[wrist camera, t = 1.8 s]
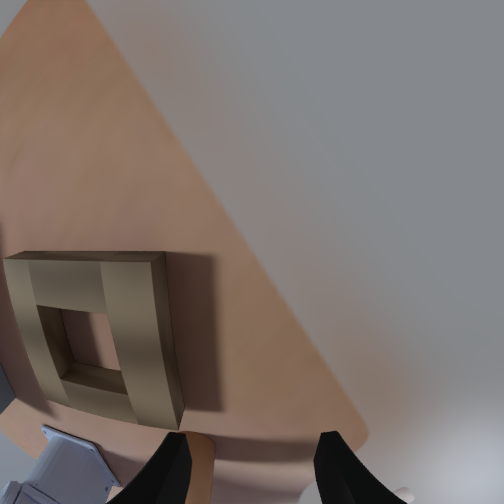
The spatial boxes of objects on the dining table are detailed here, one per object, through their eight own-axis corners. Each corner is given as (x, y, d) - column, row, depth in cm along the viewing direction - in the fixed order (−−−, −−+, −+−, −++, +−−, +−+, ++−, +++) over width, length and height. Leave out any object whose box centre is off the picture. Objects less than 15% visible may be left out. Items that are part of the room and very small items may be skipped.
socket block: (184, 407, 18) (178, 430, 16) (59, 383, 18) (46, 399, 16) (164, 251, 16) (150, 262, 13) (24, 251, 15) (2, 258, 13)
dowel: (217, 458, 20) (210, 530, 12) (174, 454, 20) (158, 522, 12) (213, 433, 19) (203, 513, 11) (166, 428, 19) (143, 504, 11)
